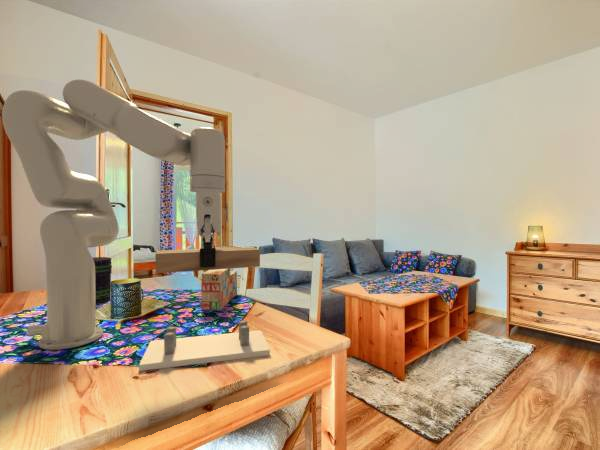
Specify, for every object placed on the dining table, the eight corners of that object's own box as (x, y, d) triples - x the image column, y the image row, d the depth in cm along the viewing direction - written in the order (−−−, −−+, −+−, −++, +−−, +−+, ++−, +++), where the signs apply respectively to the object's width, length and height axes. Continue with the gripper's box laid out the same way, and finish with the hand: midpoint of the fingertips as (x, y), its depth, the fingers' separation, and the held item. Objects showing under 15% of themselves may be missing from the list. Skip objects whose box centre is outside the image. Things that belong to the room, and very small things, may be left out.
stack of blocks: (221, 293, 120) (221, 263, 120) (237, 294, 120) (237, 263, 120) (201, 310, 99) (201, 272, 99) (220, 310, 98) (220, 273, 98)
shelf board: (259, 266, 71) (259, 249, 71) (155, 273, 62) (155, 253, 62) (252, 263, 76) (252, 247, 76) (155, 268, 67) (155, 250, 67)
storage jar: (85, 297, 112) (84, 257, 112) (115, 296, 115) (115, 256, 115) (74, 305, 103) (73, 261, 102) (107, 303, 106) (107, 260, 105)
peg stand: (139, 370, 60) (138, 344, 59) (150, 345, 71) (150, 323, 71) (269, 355, 67) (269, 331, 67) (260, 334, 78) (261, 314, 78)
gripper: (226, 181, 61) (226, 270, 62) (223, 189, 78) (223, 258, 78) (187, 180, 59) (187, 271, 59) (192, 188, 76) (192, 259, 76)
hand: (207, 263), depth 69 cm, fingers closed on shelf board, 6 cm apart
